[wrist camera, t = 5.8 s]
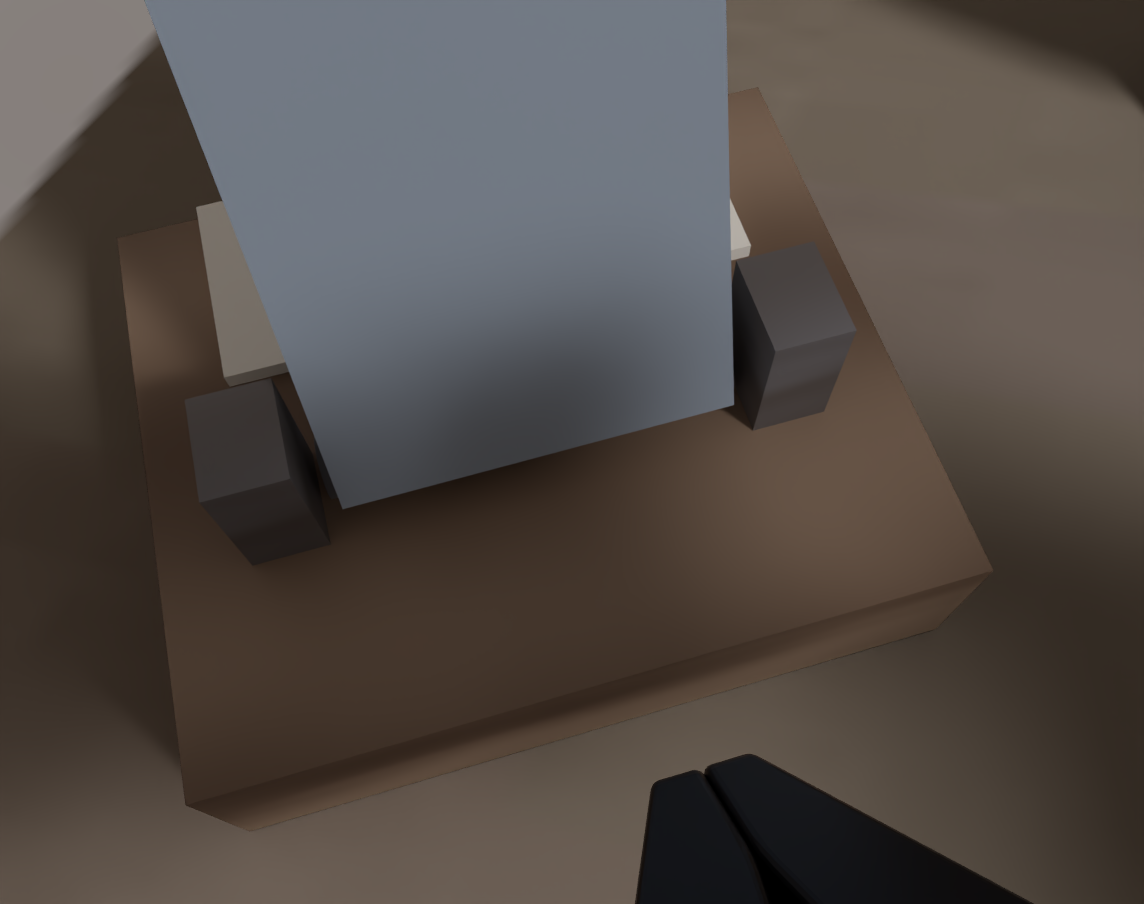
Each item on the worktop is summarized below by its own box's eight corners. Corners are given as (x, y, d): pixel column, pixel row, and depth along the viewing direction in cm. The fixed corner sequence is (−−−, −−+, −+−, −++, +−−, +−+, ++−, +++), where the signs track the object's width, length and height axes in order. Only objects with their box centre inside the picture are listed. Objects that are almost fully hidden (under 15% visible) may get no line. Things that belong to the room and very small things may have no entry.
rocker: (746, 426, 16) (739, -324, 10) (338, 535, 16) (46, -189, 9) (702, 350, 18) (671, -346, 11) (327, 448, 17) (67, -232, 11)
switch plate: (748, 256, 18) (752, 238, 18) (229, 386, 18) (220, 371, 17) (682, 104, 20) (684, 85, 20) (202, 217, 19) (191, 199, 19)
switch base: (935, 628, 19) (1056, 506, 14) (249, 831, 17) (113, 776, 12) (738, 191, 23) (777, -19, 18) (177, 329, 22) (55, 142, 17)
